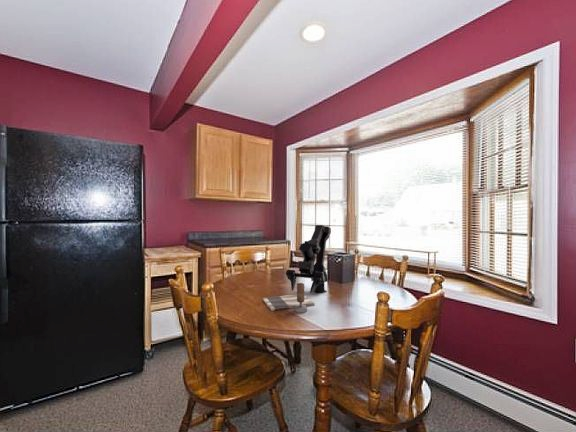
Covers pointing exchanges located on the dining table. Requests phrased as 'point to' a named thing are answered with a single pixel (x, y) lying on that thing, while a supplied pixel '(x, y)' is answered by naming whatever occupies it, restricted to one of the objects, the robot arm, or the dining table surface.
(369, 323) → the dining table surface
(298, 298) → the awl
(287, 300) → the cream and grey cloth
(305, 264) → the robot arm
